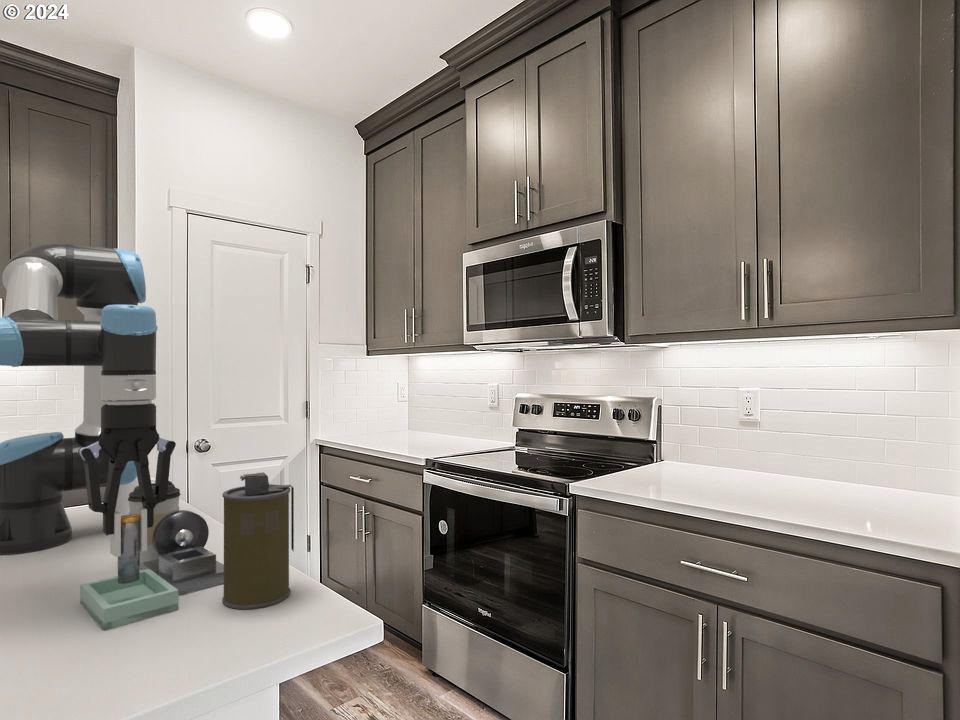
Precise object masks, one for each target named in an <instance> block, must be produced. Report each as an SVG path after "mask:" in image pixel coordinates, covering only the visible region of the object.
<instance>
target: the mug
mask: <svg viewBox="0 0 960 720" xmlns="http://www.w3.org/2000/svg"><path fill="white" fill-rule="evenodd" d="M150 478H151V483H152V482H155V480H156V477H155V478H154V477H150ZM137 486H139V484H138V478H137V477H136V479H135V480H134V481H133V482H131V483H129V484H124V485H120V486H119V492H118V497H117V503H116V509H115V511H118V512H119V513H121V516H124V515H129V512H130V506H129V501H128V498H129V494H130V493H131V492H133V491H134V489H135V487H137Z"/></svg>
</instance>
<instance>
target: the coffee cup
mask: <svg viewBox="0 0 960 720" xmlns="http://www.w3.org/2000/svg"><path fill="white" fill-rule="evenodd" d="M151 484H152V490H153V495H154V490H155V482H153V483H152V482H151ZM181 495H182V494H181V490H180V488H178V487H176V486H175V485H174V483H173V482H172V481H170V480H168V490H167V499H166V501H164V502H160V503H158V504H156V507H155V508H154V524H153V526H152V527H149V528H147V550H146V551H141V550H140V568H141V563H142V562H147V561H151V560H156V559H159V554H158V553H157V552H156V551H155V549H154V547H153V543H152V537H153V533H154V530H155V528H156V526H157V524H158V523H159V522H160V521H161V520H162V519H163V518H164V517H165V516H167V515H168V514H170V513H172V512H175V511H179V510H180V505H179V504H180V496H181ZM128 501H129V506H130V512H129V515H131V514H137V507H143V504H142V501H141V495H140V490H139V486H137V487H135V489H134V491H133V492H131V493H130V494H129V498H128Z"/></svg>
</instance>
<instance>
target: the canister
mask: <svg viewBox="0 0 960 720" xmlns="http://www.w3.org/2000/svg"><path fill="white" fill-rule="evenodd" d="M239 479H240V481H241V482H243V481H244V486H243V485H242V486H238V487H233V488H229V489H227V490H225V491H223V493H221V494H222V495H221V496H222V498H223V564H224V584H223V597H222V603H223V605H225V606H226V607H228V608H230V609H236V610H253V609H254V610H256V609H261V608H266V607H270V606H272V605H275V604H278V603H280V602H283V601H284V600H285V599H287V598H288V597H289V596H290V595H291V588H290V548H291V550H292V552H294V547H295V546H294V541H295V540H294V539H295V537H294V533H295V531H294V530H295V529H294V528H295V527H294V526H295V524H294V523H295V522H294V518H295V517H294V516H295V515H294V514H295V513H294V510H295V509H294V503H295V502H294V501H295V500H294V499H295V495H294V494H295V492H294V489H295V488H294V486H292V484H284V485H283V484H270V481H269V476H268V475H267V474H266V473H265V472H256V473H247V474H243V475H240V477H239ZM290 493H291V494H290ZM290 495H291V496H290ZM290 497H291V500H290ZM290 501H291V502H290ZM290 503H291V504H290ZM290 505H291V506H290ZM290 507H291V508H290ZM290 509H291V512H289V511H290ZM290 515H291V516H290ZM290 517H291V522H290ZM290 523H291V524H290ZM290 525H291V529H290ZM290 531H291V533H290ZM290 534H291V535H290ZM290 536H291V537H290ZM290 538H291V541H290ZM290 542H291V543H290Z"/></svg>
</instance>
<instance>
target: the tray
mask: <svg viewBox="0 0 960 720" xmlns="http://www.w3.org/2000/svg"><path fill="white" fill-rule="evenodd" d="M79 586H80V591H79V593H80V596H79V597H80V598H79V599H80V602H79V604H81V606H82V607H83V608H84V609H85V611H86V612H87V613H88V614H89V615H90V617H91V618H92V619H93V621H95V622H96V623H97V625H99V627H100V628H101V629H102V630H103V631H106V630H109V629H113V628H117V627H121V626H124V625H128V624H131V623H135V622H139V621H142V620H145V619H149V618H153V617H156V616H160V615H163V614H168V613H171V612H174V611H178V610H179V595H178V590H177V589H176V588H175V587H173V586H172V585H171V584H169V583H168V582H167V581H165V580H164V579H162V578H161V577H160V576H158V575H157V574H156V573H154V572H153V571H152V570H150V569H146V570H142V571H141V570H140V579H139V580H138V581H135V582H132V583H127V584H120V583H118V575H116V576H112V577H107V578H104V579H98V580H94V581H90V582H86V583H81V584H80V585H79Z"/></svg>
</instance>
